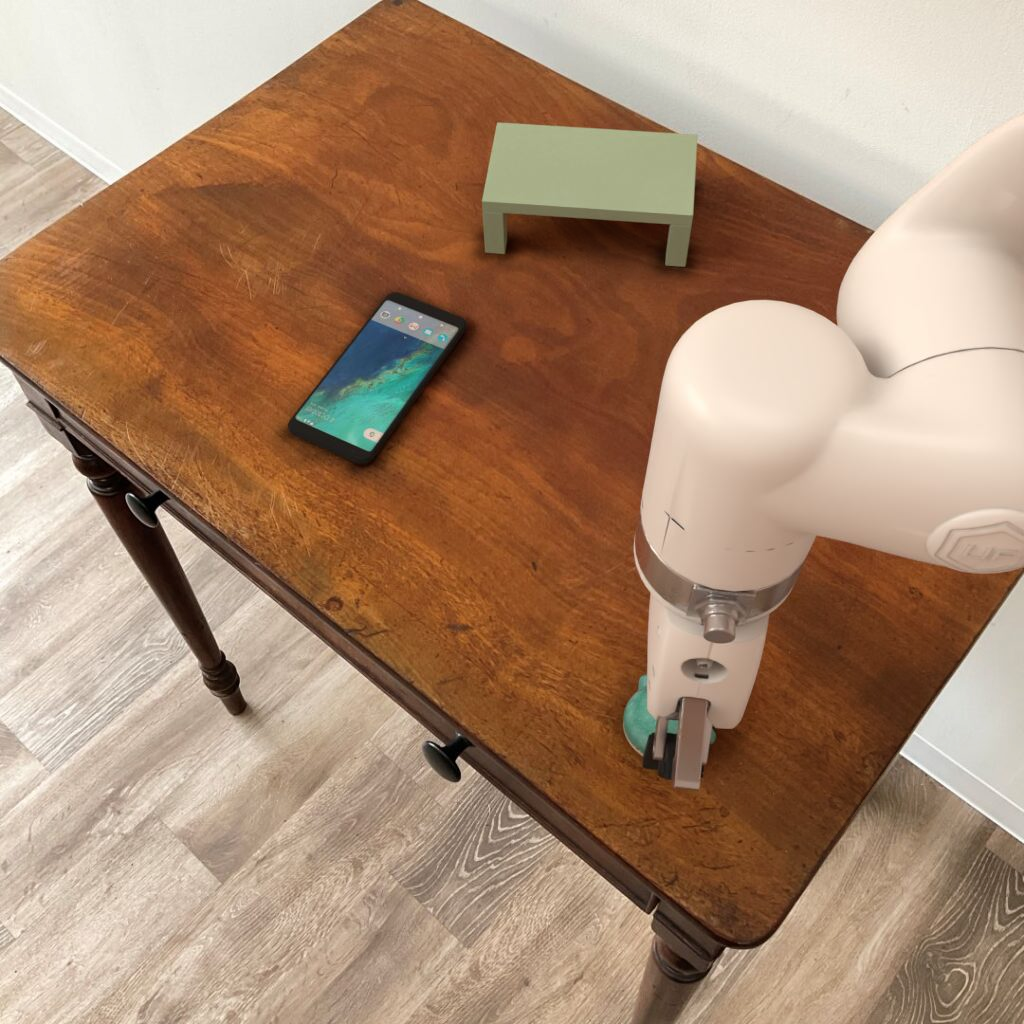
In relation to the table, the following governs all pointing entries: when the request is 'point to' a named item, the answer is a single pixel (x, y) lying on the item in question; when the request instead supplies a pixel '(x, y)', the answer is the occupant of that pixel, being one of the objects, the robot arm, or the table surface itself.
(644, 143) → the miniature table
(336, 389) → the smartphone
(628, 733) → the whale figurine
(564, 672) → the table surface
